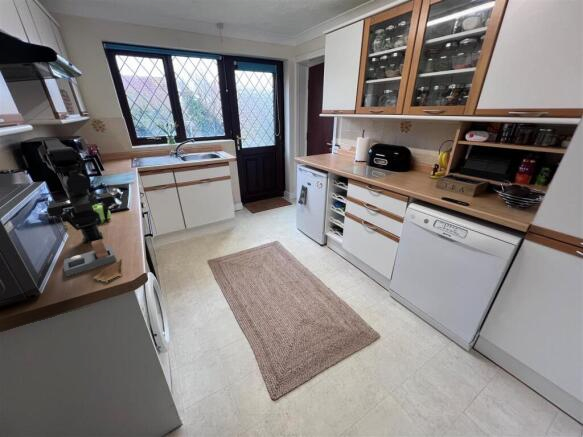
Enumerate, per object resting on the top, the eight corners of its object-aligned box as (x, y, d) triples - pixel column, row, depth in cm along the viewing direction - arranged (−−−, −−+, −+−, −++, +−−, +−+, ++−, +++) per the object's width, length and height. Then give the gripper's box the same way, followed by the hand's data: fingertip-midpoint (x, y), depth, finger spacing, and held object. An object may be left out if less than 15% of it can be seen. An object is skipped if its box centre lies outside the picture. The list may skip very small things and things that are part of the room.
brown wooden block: (99, 260, 89) (91, 241, 85) (109, 257, 91) (101, 239, 87) (100, 263, 87) (92, 245, 83) (110, 260, 89) (102, 242, 85)
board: (67, 265, 86) (60, 252, 84) (113, 250, 95) (108, 238, 92) (67, 277, 80) (60, 263, 78) (116, 260, 88) (111, 248, 86)
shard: (122, 262, 89) (121, 258, 88) (138, 265, 87) (137, 261, 86) (93, 280, 79) (91, 276, 78) (111, 284, 77) (109, 280, 76)
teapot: (116, 220, 120) (110, 204, 117) (87, 227, 113) (80, 211, 110) (112, 213, 128) (106, 199, 124) (85, 220, 121) (78, 205, 117)
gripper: (36, 198, 72) (58, 241, 79) (110, 185, 83) (124, 225, 90) (39, 188, 79) (59, 229, 86) (106, 178, 90) (119, 215, 97)
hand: (91, 224), depth 90 cm, fingers open, 9 cm apart
